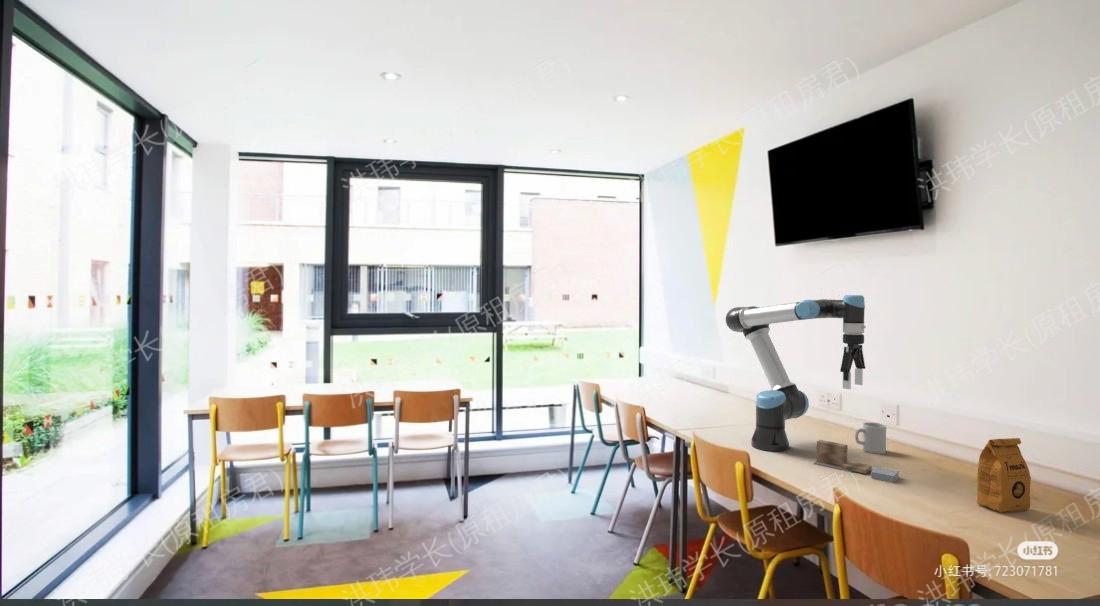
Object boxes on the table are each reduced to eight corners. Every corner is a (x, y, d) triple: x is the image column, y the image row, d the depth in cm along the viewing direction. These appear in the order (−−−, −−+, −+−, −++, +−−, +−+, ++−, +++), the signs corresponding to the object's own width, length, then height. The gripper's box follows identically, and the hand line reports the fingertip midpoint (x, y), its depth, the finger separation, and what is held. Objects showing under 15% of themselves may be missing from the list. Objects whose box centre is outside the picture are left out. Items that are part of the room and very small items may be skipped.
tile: (876, 473, 209) (871, 479, 203) (877, 466, 208) (871, 471, 203) (898, 478, 204) (893, 483, 198) (898, 470, 204) (893, 476, 198)
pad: (813, 463, 219) (813, 462, 219) (820, 459, 225) (820, 458, 225) (852, 472, 209) (852, 471, 209) (859, 467, 215) (859, 466, 215)
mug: (879, 448, 240) (879, 422, 240) (890, 454, 232) (890, 427, 232) (850, 447, 241) (850, 422, 241) (860, 453, 232) (860, 427, 232)
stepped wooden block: (814, 462, 219) (815, 442, 219) (821, 458, 224) (821, 438, 224) (865, 473, 206) (866, 452, 206) (871, 469, 211) (872, 448, 211)
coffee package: (1036, 514, 171) (1038, 442, 170) (999, 515, 170) (1001, 443, 169) (1006, 501, 181) (1008, 433, 180) (971, 503, 179) (973, 434, 179)
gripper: (852, 336, 214) (851, 391, 214) (874, 332, 231) (873, 384, 231) (831, 334, 219) (831, 389, 220) (854, 331, 236) (853, 381, 237)
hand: (852, 386), depth 226 cm, fingers open, 13 cm apart
